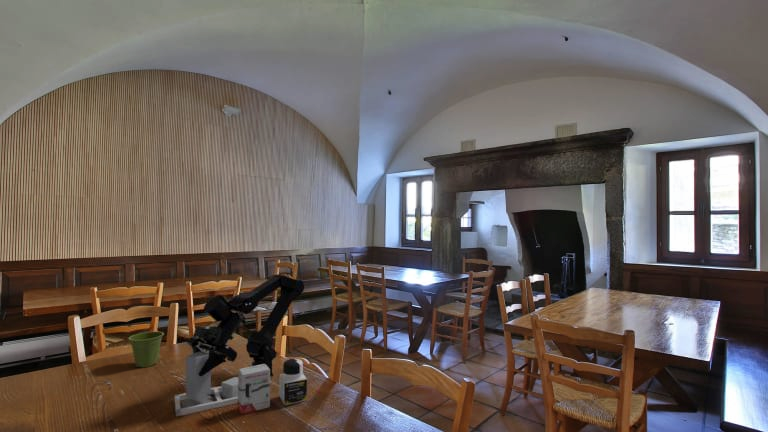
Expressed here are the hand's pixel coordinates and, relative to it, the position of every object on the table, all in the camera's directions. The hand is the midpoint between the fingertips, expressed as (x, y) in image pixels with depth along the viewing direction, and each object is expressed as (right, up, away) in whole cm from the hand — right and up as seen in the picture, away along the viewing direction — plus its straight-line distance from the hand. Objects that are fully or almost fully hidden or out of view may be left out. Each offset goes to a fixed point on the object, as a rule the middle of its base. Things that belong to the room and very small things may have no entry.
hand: (194, 374), depth 120 cm
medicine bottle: (+29, -10, +4) cm, 31 cm away
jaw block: (+1, -7, +1) cm, 7 cm away
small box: (+10, -10, +6) cm, 15 cm away
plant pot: (-35, -10, +33) cm, 49 cm away
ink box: (+19, -10, -2) cm, 21 cm away
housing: (+5, -9, +4) cm, 11 cm away
